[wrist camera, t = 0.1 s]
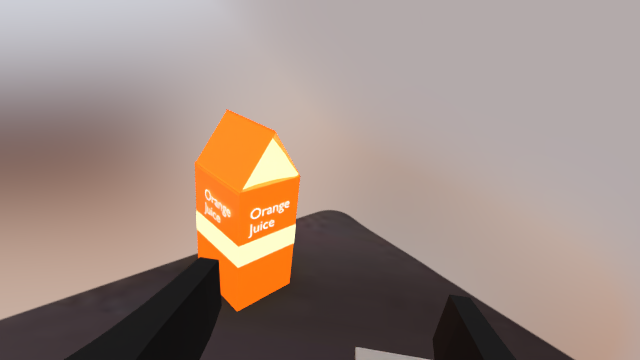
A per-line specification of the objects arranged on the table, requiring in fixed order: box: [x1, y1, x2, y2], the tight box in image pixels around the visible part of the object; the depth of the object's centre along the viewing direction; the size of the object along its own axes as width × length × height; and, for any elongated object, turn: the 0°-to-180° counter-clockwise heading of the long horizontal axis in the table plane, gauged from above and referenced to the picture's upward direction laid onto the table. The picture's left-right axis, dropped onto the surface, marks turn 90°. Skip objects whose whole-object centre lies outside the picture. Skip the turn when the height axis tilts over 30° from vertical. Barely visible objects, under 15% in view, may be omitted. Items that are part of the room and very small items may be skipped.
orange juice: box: [195, 110, 300, 311], centre depth 39 cm, size 8×9×20 cm
